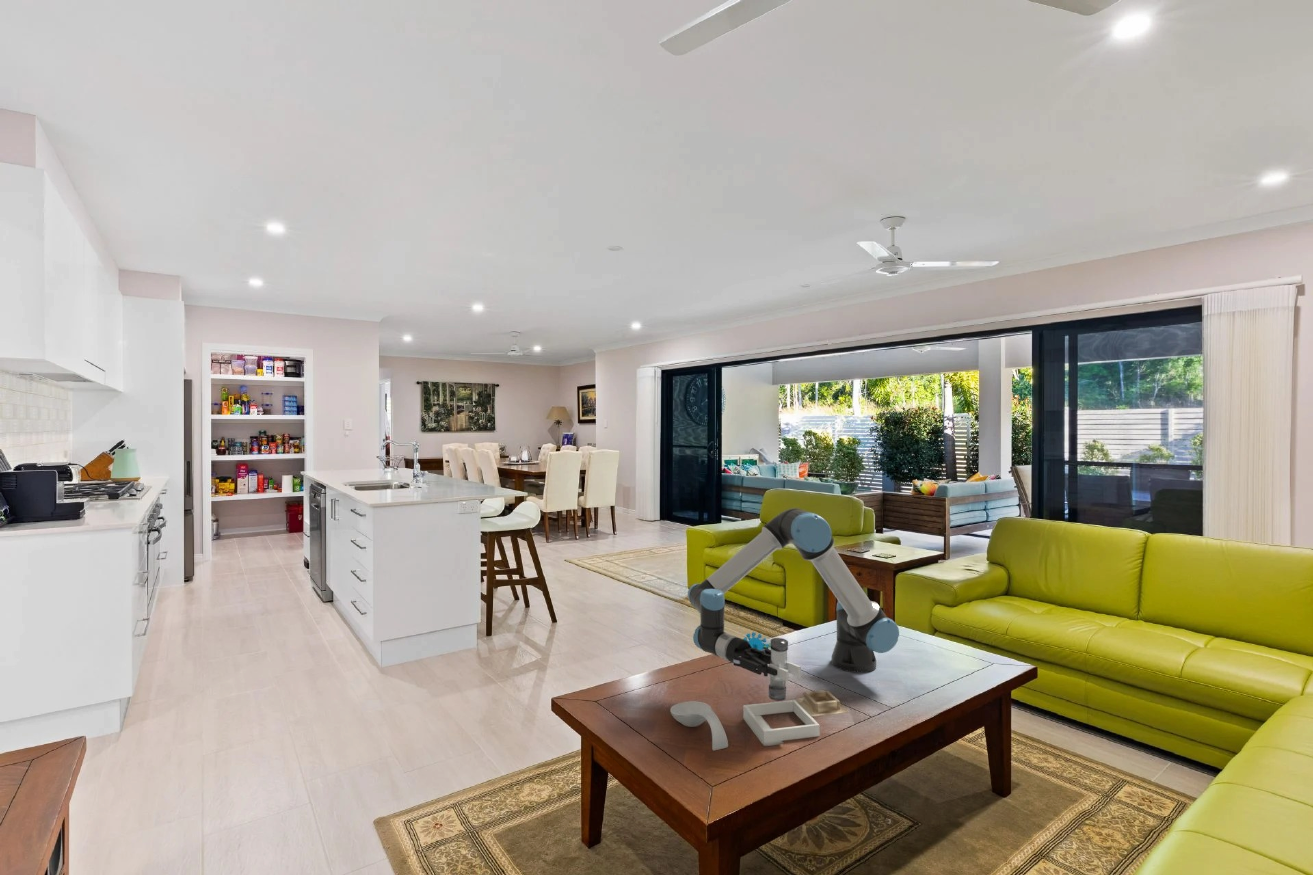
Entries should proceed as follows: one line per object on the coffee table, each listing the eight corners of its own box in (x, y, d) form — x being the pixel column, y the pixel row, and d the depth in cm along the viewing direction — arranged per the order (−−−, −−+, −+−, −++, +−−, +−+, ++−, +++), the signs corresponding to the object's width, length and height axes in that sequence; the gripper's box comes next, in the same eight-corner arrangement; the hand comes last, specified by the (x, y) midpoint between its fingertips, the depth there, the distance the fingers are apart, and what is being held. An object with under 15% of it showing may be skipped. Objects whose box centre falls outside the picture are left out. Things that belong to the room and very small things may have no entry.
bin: (794, 712, 190) (794, 699, 190) (819, 739, 174) (819, 724, 174) (743, 718, 186) (743, 705, 186) (764, 746, 171) (764, 731, 171)
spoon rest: (663, 717, 188) (663, 692, 188) (699, 709, 193) (698, 685, 193) (702, 755, 167) (702, 728, 167) (741, 745, 172) (740, 719, 172)
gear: (745, 656, 231) (741, 630, 238) (740, 663, 235) (736, 637, 242) (774, 658, 233) (769, 632, 240) (768, 665, 237) (764, 639, 244)
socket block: (830, 697, 200) (830, 686, 200) (849, 715, 188) (849, 703, 188) (794, 701, 197) (794, 690, 197) (811, 719, 186) (811, 707, 185)
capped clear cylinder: (783, 692, 183) (785, 637, 182) (787, 700, 178) (789, 644, 177) (766, 692, 183) (769, 637, 182) (770, 700, 178) (772, 644, 177)
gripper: (754, 655, 199) (814, 679, 181) (712, 668, 189) (771, 695, 170) (754, 631, 199) (814, 653, 181) (712, 643, 189) (772, 667, 170)
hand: (793, 673), depth 175 cm, fingers closed on capped clear cylinder, 4 cm apart
